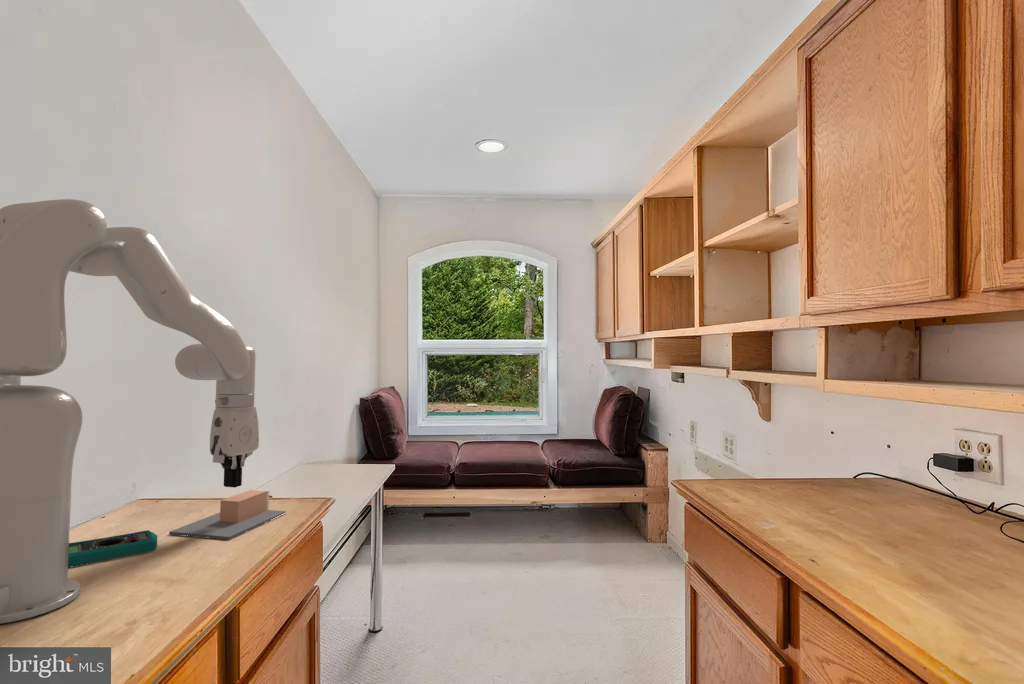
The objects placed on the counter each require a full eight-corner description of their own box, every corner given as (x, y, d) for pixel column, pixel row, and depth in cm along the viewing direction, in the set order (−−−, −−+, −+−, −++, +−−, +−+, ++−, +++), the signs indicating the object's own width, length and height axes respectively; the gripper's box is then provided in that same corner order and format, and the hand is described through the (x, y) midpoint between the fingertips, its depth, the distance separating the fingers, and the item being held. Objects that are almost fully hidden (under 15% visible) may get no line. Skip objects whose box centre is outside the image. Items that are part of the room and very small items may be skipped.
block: (238, 501, 112) (269, 490, 121) (220, 500, 112) (252, 489, 122) (238, 522, 111) (268, 509, 121) (219, 521, 112) (251, 508, 122)
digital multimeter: (159, 552, 97) (159, 536, 97) (53, 573, 87) (53, 555, 87) (153, 542, 102) (154, 527, 102) (53, 560, 92) (54, 543, 93)
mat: (229, 540, 102) (229, 536, 102) (169, 534, 105) (169, 531, 105) (285, 513, 120) (286, 511, 120) (233, 509, 123) (233, 507, 123)
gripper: (224, 405, 106) (222, 496, 105) (272, 400, 120) (270, 479, 120) (193, 404, 107) (190, 493, 106) (244, 399, 122) (241, 477, 121)
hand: (232, 486), depth 113 cm, fingers closed
